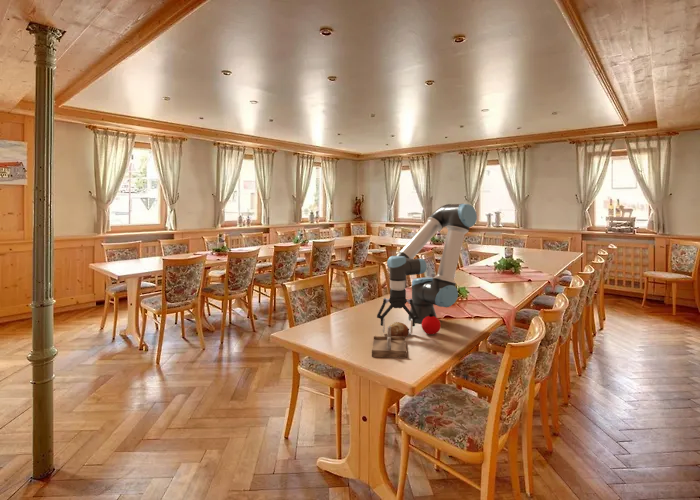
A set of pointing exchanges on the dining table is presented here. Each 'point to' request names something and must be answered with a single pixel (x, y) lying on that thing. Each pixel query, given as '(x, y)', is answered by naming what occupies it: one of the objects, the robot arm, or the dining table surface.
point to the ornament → (431, 324)
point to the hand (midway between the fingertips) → (397, 332)
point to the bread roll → (399, 330)
